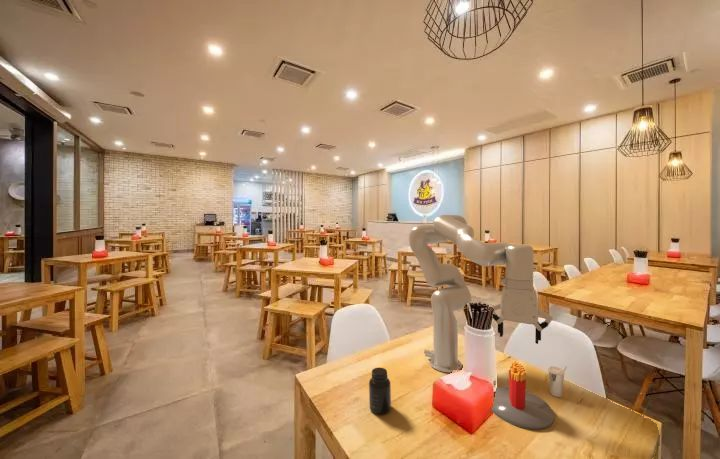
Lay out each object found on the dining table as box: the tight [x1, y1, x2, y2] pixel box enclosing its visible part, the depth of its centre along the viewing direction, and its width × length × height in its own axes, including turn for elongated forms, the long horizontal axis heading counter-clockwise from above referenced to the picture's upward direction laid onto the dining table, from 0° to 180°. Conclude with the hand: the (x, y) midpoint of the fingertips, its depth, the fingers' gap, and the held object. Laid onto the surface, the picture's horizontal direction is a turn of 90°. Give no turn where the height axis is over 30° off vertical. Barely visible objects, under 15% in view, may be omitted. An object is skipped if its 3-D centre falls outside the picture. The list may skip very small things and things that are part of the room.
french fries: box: [508, 360, 527, 410], centre depth 88 cm, size 8×4×12 cm, turn 161°
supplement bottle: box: [368, 367, 392, 416], centre depth 88 cm, size 7×7×12 cm
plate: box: [490, 386, 555, 431], centre depth 88 cm, size 18×18×2 cm
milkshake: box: [547, 365, 567, 398], centre depth 94 cm, size 4×5×10 cm
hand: (518, 338), depth 87 cm, fingers open, 9 cm apart
